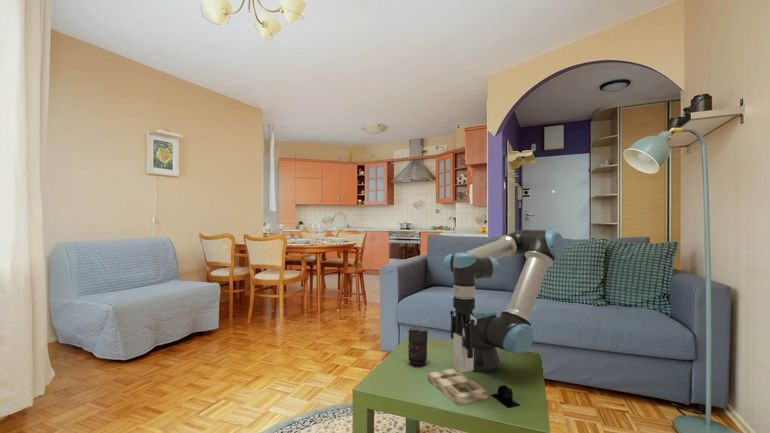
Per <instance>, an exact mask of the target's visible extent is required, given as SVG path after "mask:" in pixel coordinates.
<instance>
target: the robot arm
mask: <svg viewBox="0 0 770 433" xmlns="http://www.w3.org/2000/svg"><path fill="white" fill-rule="evenodd" d="M564 254H565V241H564V237H563V235H561V233H560V232H559V231H557V230H550V229H544V230H543V229H523V230H522V229H521V230H518V231H514V232H510V233H508V234H505V235H502V236H501V237H500V238H499V239H498V240H495V241H492V242H489V243H486V244H484V245H481V246H478V247H475V248H472V249H471V250H467V251H465V252H457V253H450V254H447V255H446V256H445V257H444V259H443V268H444V269H445V271H446V272H448V273H450V274H451V273H452V275H453V288H452V289H453V292H452V293H453V294H452V295H453V298H452V307H453V309H454V310H450V338H451V339H453V333H455V332H463V331H464V333H465V341H466V347H465V367H472V358H473V348H474V367H473V370H471V371H472V372H475V373H482V374H489V373H490V374H492V373H496V372H497V373H498V372H499V371H500V370H501V360H500V358H499V354H498V350H497V349H501V350H503V351H506V352H507V353H510V354H515V355H522V354H523V353H526V352H527V351H528V350H529V349H530V347H532V343H533V341H534V330H533V328H532V327H531V325H532V322H531V320H530V316H531V313H532V311H533V308H534V305H535V302H536V299H537V297H538V294H539V292H540V290H541V286H542V284H543V281H544V278H545V275H546V273H547V269H548V268H549V267H551V266H553V265H554V263H555V261H556V260H559V259H561V258H563V257H564ZM513 256H525V258H526V260H525V263H524V265H523V268H522V271H521V273H520V275H519V278H518V281H517V283H516V285H515V288H514V290H513V293H512V295H511V298H510V300H509V304H508V305H507V308H506V309H503V310H501V313H500V315H499V316H497V312H496V311H495V310H494V309H475V308H476V298H475V297H476V280H480V279H491V278H494V277H496V276H498V275H499V272H500V264H499V261H498V259H501V258H504V257H513ZM469 344H470V345H469Z"/></svg>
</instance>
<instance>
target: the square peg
mask: <svg viewBox="0 0 770 433" xmlns="http://www.w3.org/2000/svg"><path fill="white" fill-rule="evenodd" d="M452 340H453V344H452V345H453V346H452V348H453V350H452V356H453V357H452V367H453V369H455V370H457V371H458V372H460V373H463V372H464V373H465V372H471V371H472V370H473V367H474V348H473V358H472V367H465V347H466V341H465V333H464V330H463V331H462V332H455V333H453V338H452ZM469 345H470V344H469Z"/></svg>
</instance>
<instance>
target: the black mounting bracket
mask: <svg viewBox="0 0 770 433" xmlns="http://www.w3.org/2000/svg"><path fill="white" fill-rule="evenodd" d="M490 397H492V398H493V399H495V400H496V401H497V402H499V403H500V404H501V405H503V406H504V407H505V408H507V409H511V408H516V407H520V405H521V404H520V403H519V402H518V401H516V400H514V398H513V397H514V395H513V390H512V388H510V387H508V386H507V385H506V384H504V385H499V386H497V392H496V393H493V394H490Z"/></svg>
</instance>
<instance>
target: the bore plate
mask: <svg viewBox="0 0 770 433" xmlns="http://www.w3.org/2000/svg"><path fill="white" fill-rule="evenodd" d="M427 381H429V383H431V384H432V385H433V386H434V387H436V388H437V389H438V390H439V391H440V392H442V393H443V394H444V395H445V396H447V397H448V398H449V399H450V400H452V401H453V402H454V403H455V404H456V405H458V406H461V405H466V404H469V403H474V402H478V401H483V400H486V399H488V394H489V392H488V390H487V389H485V388H484V387H483V386H481V385H479V384H478V383H477V382H475V381H473V380H472V379H470V378H469V377H467V376H466V375H465V374H463V373H462V372H460V371H459V370H457V369H456V368H450V369H444V370H437V371H434V372H428V373H427ZM460 390H467V391H465V392H461V391H460Z"/></svg>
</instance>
